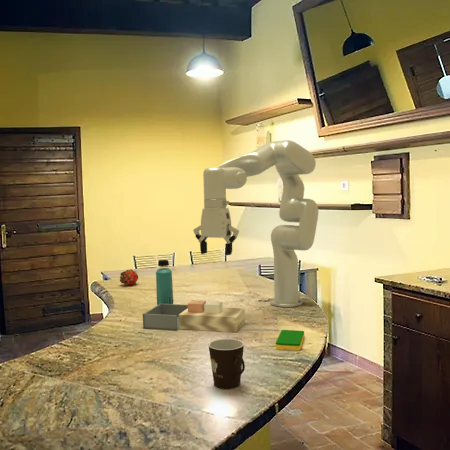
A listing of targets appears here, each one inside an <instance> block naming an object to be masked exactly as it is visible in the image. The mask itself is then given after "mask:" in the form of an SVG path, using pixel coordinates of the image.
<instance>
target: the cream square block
mask: <svg viewBox="0 0 450 450" xmlns="http://www.w3.org/2000/svg"><path fill="white" fill-rule="evenodd" d="M223 308H224V307H223V301H218V300H214V301H213V300H208V301H206V303H205V304H204V312H205V313H214V314H219V313H220V312H221V311H222V310H223Z"/></svg>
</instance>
